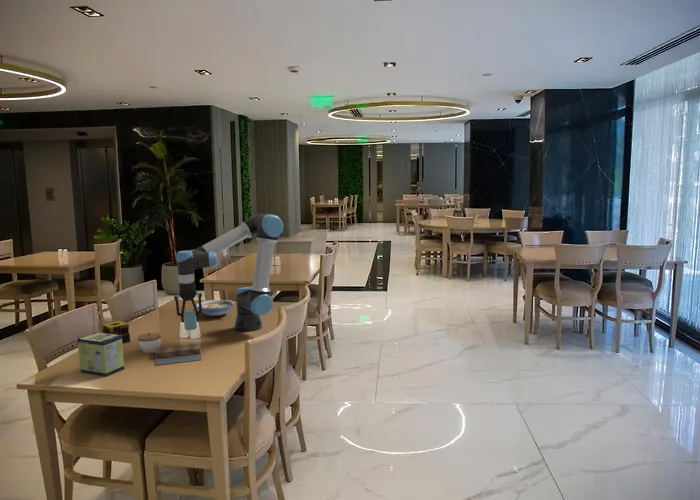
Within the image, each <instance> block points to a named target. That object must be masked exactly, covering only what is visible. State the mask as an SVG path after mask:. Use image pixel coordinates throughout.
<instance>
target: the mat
mask: <svg viewBox="0 0 700 500" xmlns="http://www.w3.org/2000/svg"><path fill="white" fill-rule="evenodd" d="M198 361H202V354H201V353H200V354H197V355H189V356H180V357H172V358H163V359H156V358H155V367H156V366H164V365H173V364H182V363H189V362H190V363H191V362H198Z"/></svg>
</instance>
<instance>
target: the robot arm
mask: <svg viewBox="0 0 700 500" xmlns="http://www.w3.org/2000/svg"><path fill="white" fill-rule="evenodd" d="M283 230H284V222H283V221H282V219H281V218H280V217H279V216H277V215H275V214H272V213H269V214H268V213H258V214H255V215H253V216H251V217H249V218H248V219H246V220H244V221H241V223H240V225H238V226H236V227H234V228H233V229H231V230H229V231H227V232H225V233H223V234H222V235H220V236H218V237H216V238H215V239H212V240H210V241H209V242H206V243H205V244H203V245H202V246H199V247H197V248H196V249H195V248H194V249H193V248H192V249H190V250H188V249H187V250H180V251H177V253H176V265H177V266H176V267H177V275H178V276H177V277H178V282H179V283H178V287H179V293H178V294H177V295H174V296H173V299H174V301H175V307H176V308H175V309H176V315H177V317H178V316H179V317H180V320H181V321H180V322H181V323H182V324H183V325H184V330H186V321H185V308H186V302H189V301H190V302H191V303H192V307H193V310H194V314H195V326H196V329H197V328H198V323H197V322H198V321H199V319H200V317H199V315H200V314H203V313H202V305H201V302H202V296H203V293H202V292H197V290H196V282H195V280H196V279H195V270H199V269H204V268H212V267H215V266H217V264H218V256H217V255H218V254H219V253H222V252H223V251H225V250H227V249H229V248H230V247H233V246H234V245H236V244H238V243H240V242H242V241H243V240H245V239H247V238H248V239H251V238H253V237H255V238H256V240H257V249H256V250H257V251H256V256H255V257H256V259H255V265H254V273H253V281H252V285H251V286H245V287H240V288H237V289H236V292H235V293H236V294H235V295H236V313H237V314H236V317H235V322H234V330H236V331H239V332H252V331H256V330H257V331H258V330H260V329H262V327H263V323H262V320H261V319H262V318H260V316H265V315H268V313H270V311H272V309H273V306H274V301H273V298H272V297H271V293H272V291H271V289H270V279H271V272H272V271H271V270H272V265H273V257H274V256H273V255H274V250H275V249H274V247H275V244H276V243H277V242H279V236H280V235H281V234H282V233H283ZM196 296H197V298H198V300H197V301H198V303H199V309H198V308H197V306H196V305H197V304H196V302H195V297H196ZM180 299H182V305H181V312H180V305H179V300H180Z"/></svg>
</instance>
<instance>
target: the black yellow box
mask: <svg viewBox="0 0 700 500" xmlns="http://www.w3.org/2000/svg"><path fill="white" fill-rule="evenodd" d="M129 329H130V327H129V323H128V322H124V321H123V320H122V321H121V320H117V321H113V322H112V321H111V322H107V323H104V324H103V323H102V324H101V330H102V333H106V334H115V335H122V345H123V344H127V343H131V334H130V331H129Z"/></svg>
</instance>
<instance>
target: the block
mask: <svg viewBox="0 0 700 500" xmlns="http://www.w3.org/2000/svg"><path fill="white" fill-rule="evenodd" d="M195 314H196V313H195V310H194V309H189V310H188V309H187V310H184V315H185V321H186V329H185V330H186V332H187V331H193V330H197V328H196V326H195Z"/></svg>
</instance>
